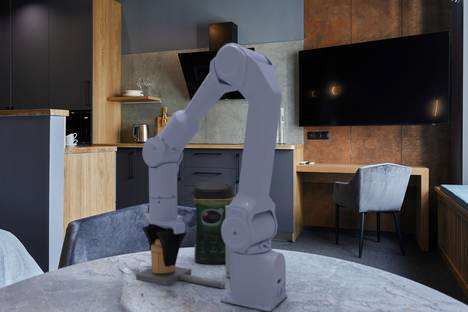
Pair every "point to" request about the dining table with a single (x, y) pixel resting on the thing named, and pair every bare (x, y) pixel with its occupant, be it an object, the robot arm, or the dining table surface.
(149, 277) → the gray square paddle
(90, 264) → the dining table surface
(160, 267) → the wire nut
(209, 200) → the coffee jar
